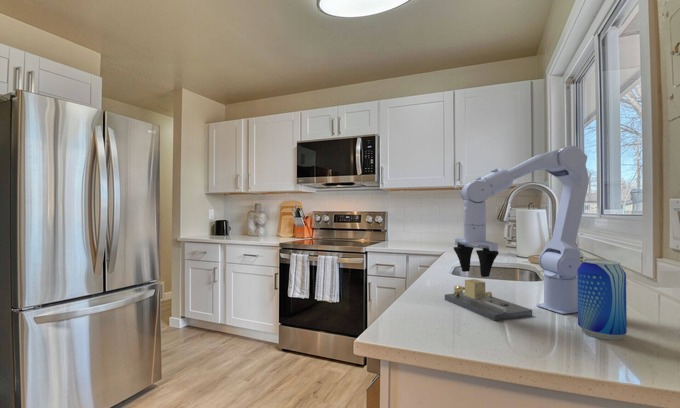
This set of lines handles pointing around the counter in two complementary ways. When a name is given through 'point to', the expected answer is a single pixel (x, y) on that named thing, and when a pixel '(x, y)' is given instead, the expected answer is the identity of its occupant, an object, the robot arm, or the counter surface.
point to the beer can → (602, 299)
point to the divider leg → (476, 289)
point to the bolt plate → (488, 306)
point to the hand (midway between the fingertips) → (475, 273)
